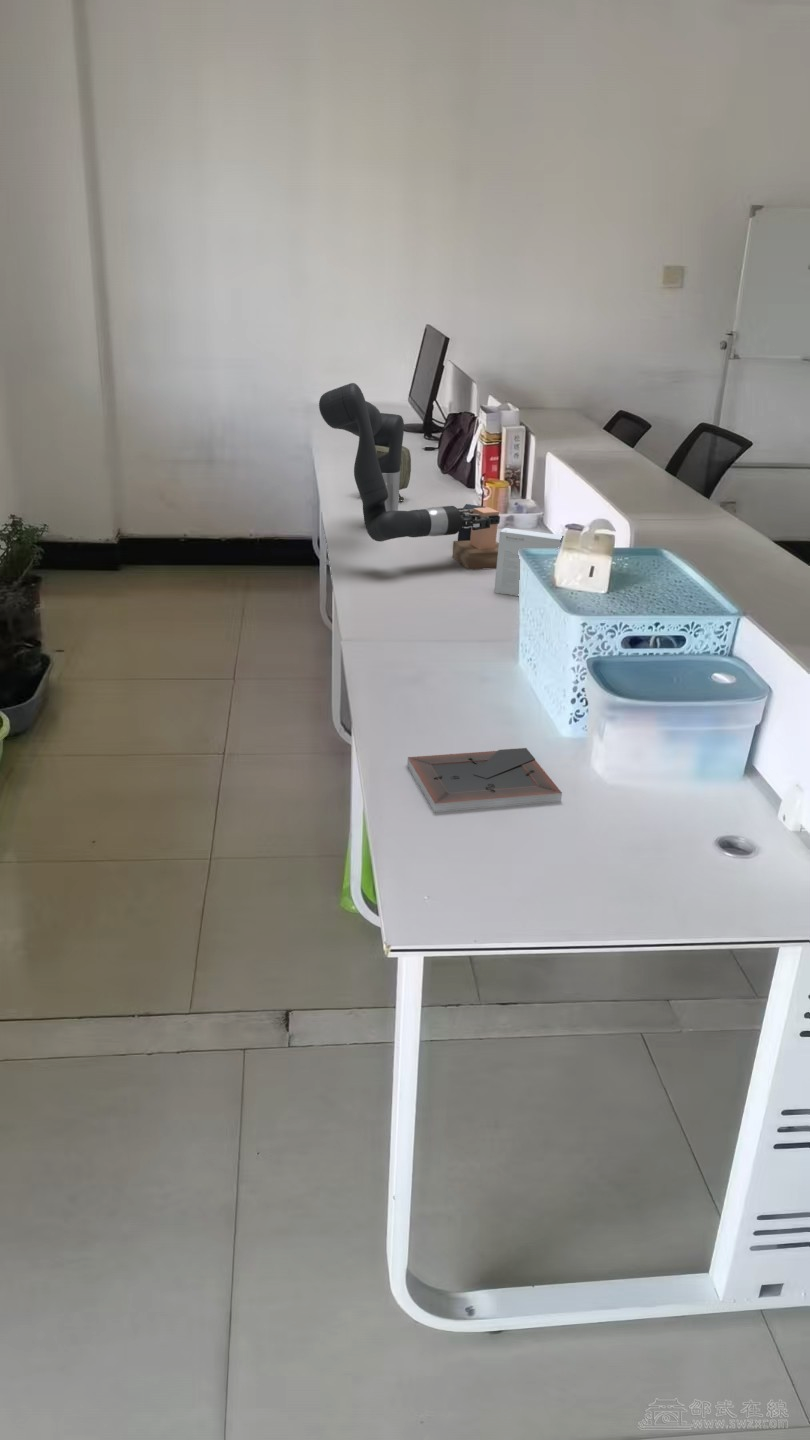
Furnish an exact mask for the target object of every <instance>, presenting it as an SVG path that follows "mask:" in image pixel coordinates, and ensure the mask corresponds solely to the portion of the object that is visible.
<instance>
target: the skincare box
mask: <svg viewBox="0 0 810 1440" xmlns="http://www.w3.org/2000/svg"><path fill="white" fill-rule="evenodd" d="M562 536H564V535H562V534H554V533H547V532H539V531H531V530H524V529H517V528H508V527H504V528H502V529H501V530H499V536H498V537H499V538H498V543H499V547H498V557H497V567H496V568H495V569H496V571H495V580H494V581H495V582H494V590H493V592H495V593H494V594H499V593H501V595H506V594H510V595H509V596H512V595H516V596H515V597H519V596H518V594H519V580H520V559H519V555H518V550H519V549H523V548H558V547H559V545H560V540H561V538H562Z"/></svg>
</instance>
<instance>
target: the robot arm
mask: <svg viewBox="0 0 810 1440" xmlns="http://www.w3.org/2000/svg"><path fill="white" fill-rule="evenodd" d="M318 402H319V403H318V408H319V412H320V413H319V414H320V415H321V417H322V419H323V420H324V422H325V423H326V425H328V427H330V428H332V429H335V430H343V431H346V432H349V433H352V434H353V435H355V436H357V437H358V446H357V452H356V454H355V460H354V465H353V476H354V481H355V484H356V488H357V490H358V494H359V496H360V499H361V501H362V502H361V503H362V513H363V514H362V515H363V519H364V526H365V530H366V532H367V534H368V536H369V537H370V538H371V539H372V540H373V541H375V542H378V543H379V542H384V541H385V542H387V541H389V540H394V539H400V538H406V537H407V538H408V537H409V538H421V537H422V538H423V537H441V536H449V535H450V536H451V535H456V534H458V531H459V530H460V528H461V527H462V528H469V527H472V530H480V529H486V528H490V525H492V524H498V525H499V524H500V521H501V520H500V519H501V516H500V515H499V516H498V515H494V516H480V515H479V514H473V509H470V510H468V508H463V507H459V508H458V507H456V506H455V505H445V506H435V507H434V506H432V507H426V508H422V509H410V510H399V502H400V501H399V494H400V490H399V483H400V465H401V454H402V446H403V440H404V431H405V430H404V429H405V422H404V421H405V420H404V417H403V416H402V415H400V414H395V413H386V412H380V410H379V409H378V407H376V406H375V405H373V404H372V403H371V402H369V401H366V399H365V396H364V393H363V391H362V389H361V388H360V387H359V385H358V384H357V383H355V382H351V383H348V384H344V385H343V386H342V385H341V386H339V387H336V388H334V389H332V390H328V391H326V392H324V393H323V394H322V395H321V396H320V398H319V401H318ZM375 445H376V446H384V447H389V451H388V453H386V454H385V455H382V456H378V457H377V453H376V448H375ZM475 517H477V519H475Z"/></svg>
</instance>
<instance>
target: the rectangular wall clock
mask: <svg viewBox="0 0 810 1440" xmlns="http://www.w3.org/2000/svg"><path fill="white" fill-rule="evenodd" d="M406 765H407V768H408V769H409V771H410V772H411V774H412V776H413V778H414V779H415V781H416V783H417V785H418V787H419V788H420V790H421V792H422V793H423V795H424V797H425V798H426V800H427V802H428V804H429V805H430V807H431V809H432V810H433V812H434V813H441V812H452V811H453V812H455V811H464V810H475V809H476V810H477V809H487V808H497V807H508V806H521V805H531V804H534V805H535V804H544V803H545V804H546V803H557V802H562V797H563V792H562V791H561V789H559V787H558V786H557V785H556V783H555V782H554V781H553V780H552V778H550V776H549V775H548V774H547V772H546V771H545V769H543V767H542V766H541V765H540V764H539V763H538V762H537V760H536V758H535V757H534V756H533V754H532V753H531V752H530V750H528V748H527V747H521V748H508V749H507V748H506V749H498V750H491V751H490V750H489V751H488V750H487V751H475V752H462V753H449V754H431V755H421V756H420V755H419V756H408V757H407V762H406Z"/></svg>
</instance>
